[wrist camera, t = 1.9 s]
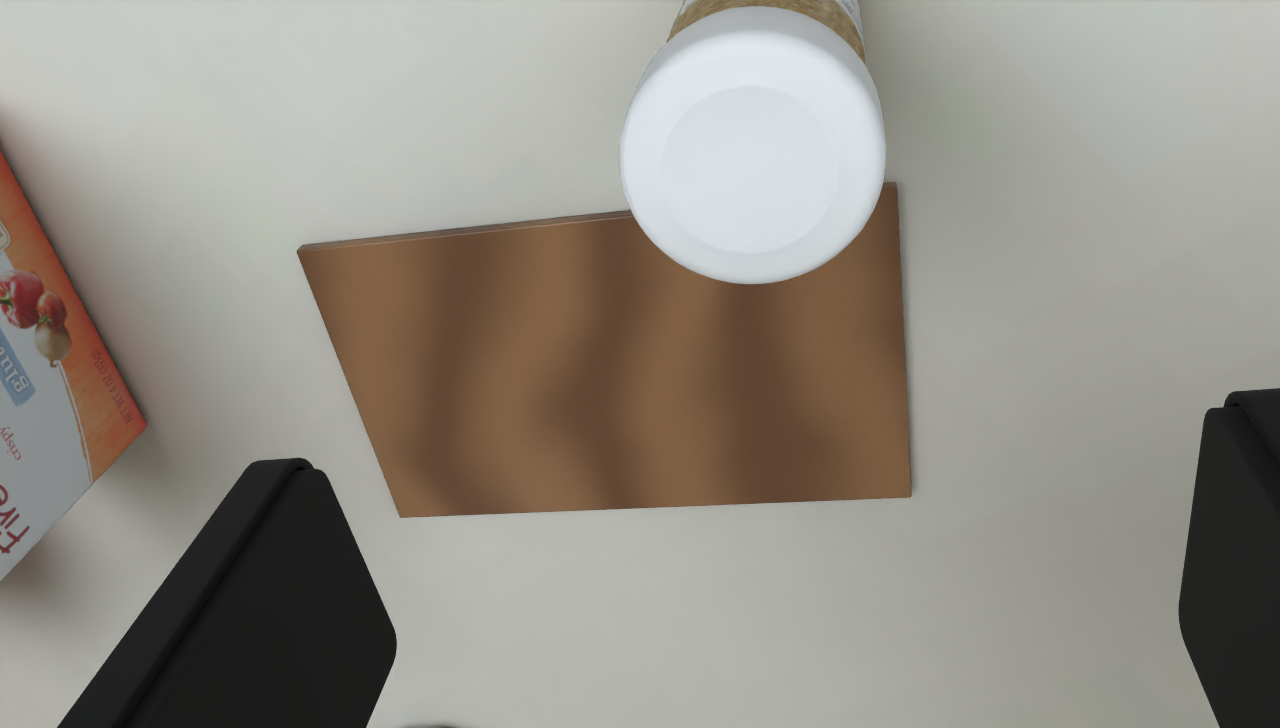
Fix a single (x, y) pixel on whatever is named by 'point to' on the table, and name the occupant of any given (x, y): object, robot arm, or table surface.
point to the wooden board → (616, 369)
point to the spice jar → (755, 138)
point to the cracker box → (49, 385)
